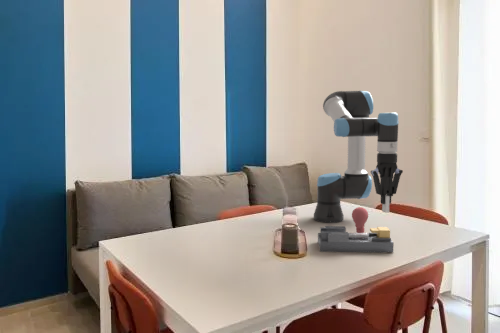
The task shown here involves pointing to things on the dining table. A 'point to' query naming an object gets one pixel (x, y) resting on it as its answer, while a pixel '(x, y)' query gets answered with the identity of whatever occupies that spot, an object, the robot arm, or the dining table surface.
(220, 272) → the dining table surface
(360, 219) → the light bulb
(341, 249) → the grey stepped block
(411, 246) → the dining table surface
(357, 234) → the light grey flat bar
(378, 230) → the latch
